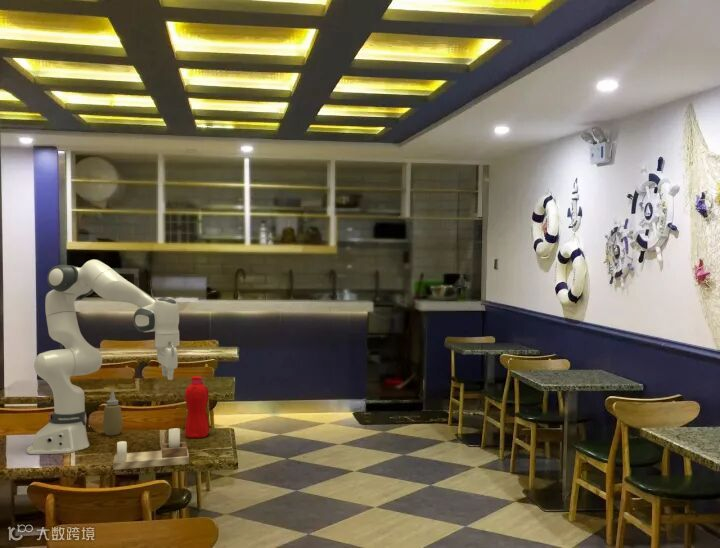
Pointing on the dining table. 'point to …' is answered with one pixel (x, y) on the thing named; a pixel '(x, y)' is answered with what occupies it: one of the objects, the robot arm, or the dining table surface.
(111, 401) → the squeeze bottle
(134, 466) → the wooden board with socket
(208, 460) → the dining table surface
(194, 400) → the water bottle
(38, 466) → the dining table surface
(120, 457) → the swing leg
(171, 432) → the loose leg
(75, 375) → the robot arm
